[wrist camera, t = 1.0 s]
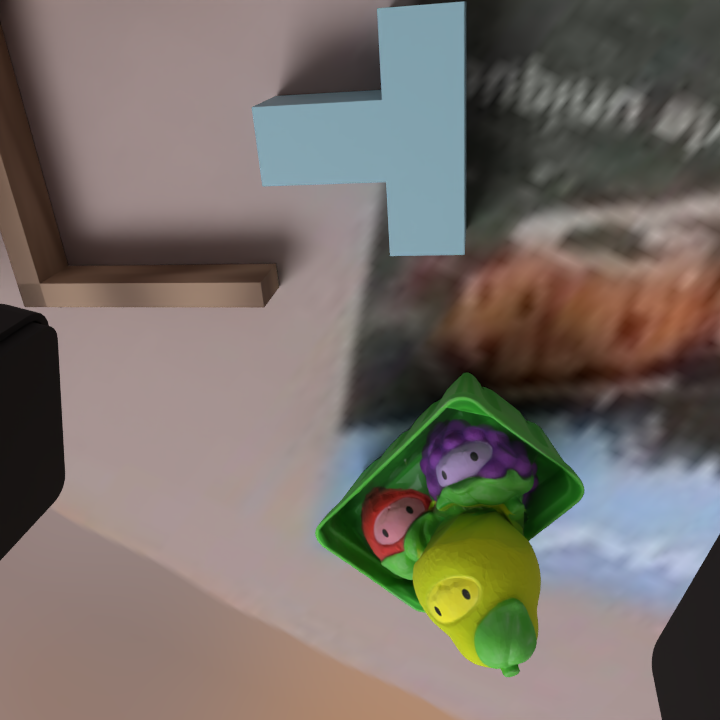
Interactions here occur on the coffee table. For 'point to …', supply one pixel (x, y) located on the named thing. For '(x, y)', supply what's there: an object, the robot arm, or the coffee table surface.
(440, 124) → the t block
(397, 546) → the fruit basket
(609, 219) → the coffee table surface
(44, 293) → the u-shaped wooden frame
